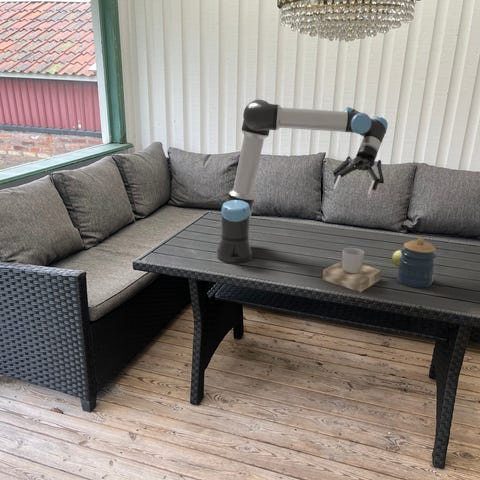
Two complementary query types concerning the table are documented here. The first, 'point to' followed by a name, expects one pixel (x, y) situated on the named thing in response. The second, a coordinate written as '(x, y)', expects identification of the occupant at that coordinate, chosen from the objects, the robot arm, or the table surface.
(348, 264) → the cup
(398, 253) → the tennis ball
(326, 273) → the opening block
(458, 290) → the table surface
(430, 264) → the canister
